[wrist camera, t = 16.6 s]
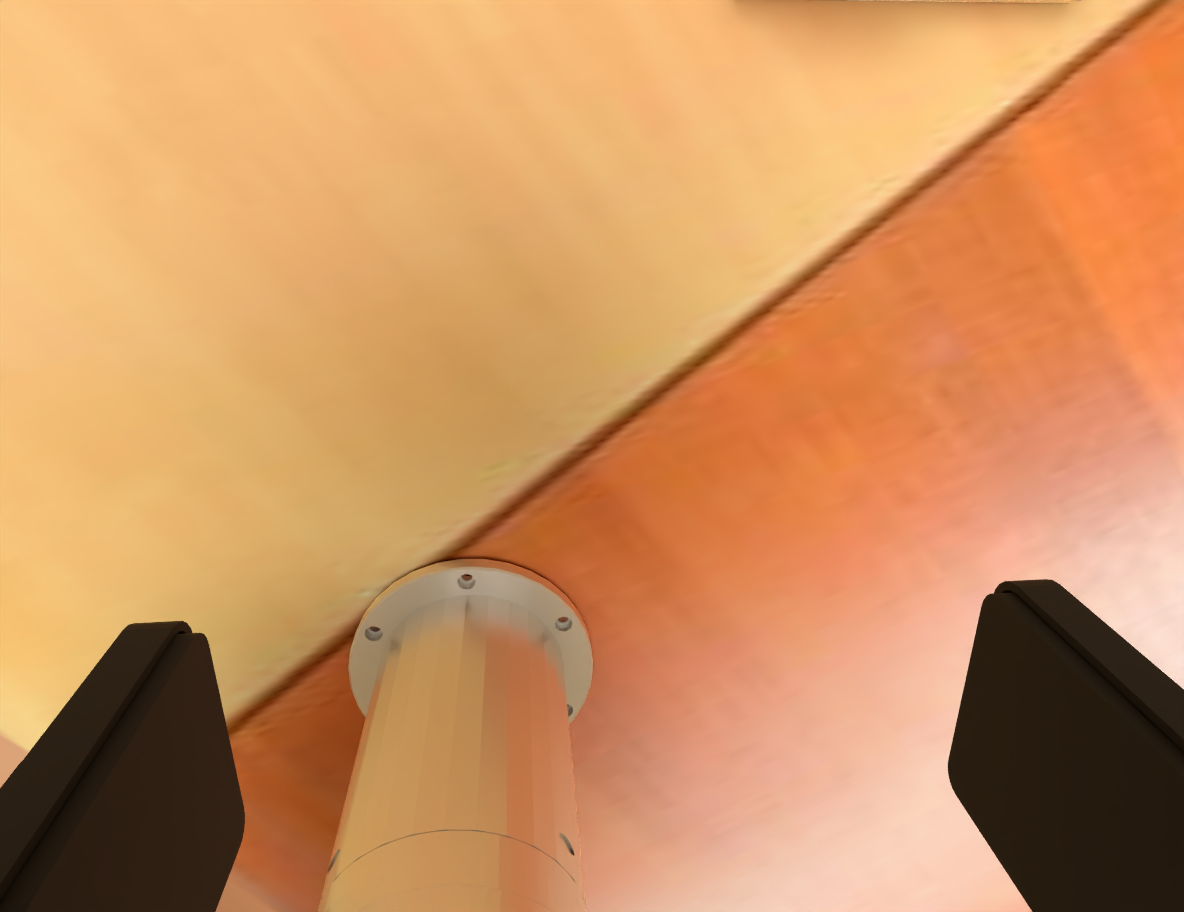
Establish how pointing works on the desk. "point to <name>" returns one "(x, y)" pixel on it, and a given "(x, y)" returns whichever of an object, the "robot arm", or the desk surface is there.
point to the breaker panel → (1002, 0)
